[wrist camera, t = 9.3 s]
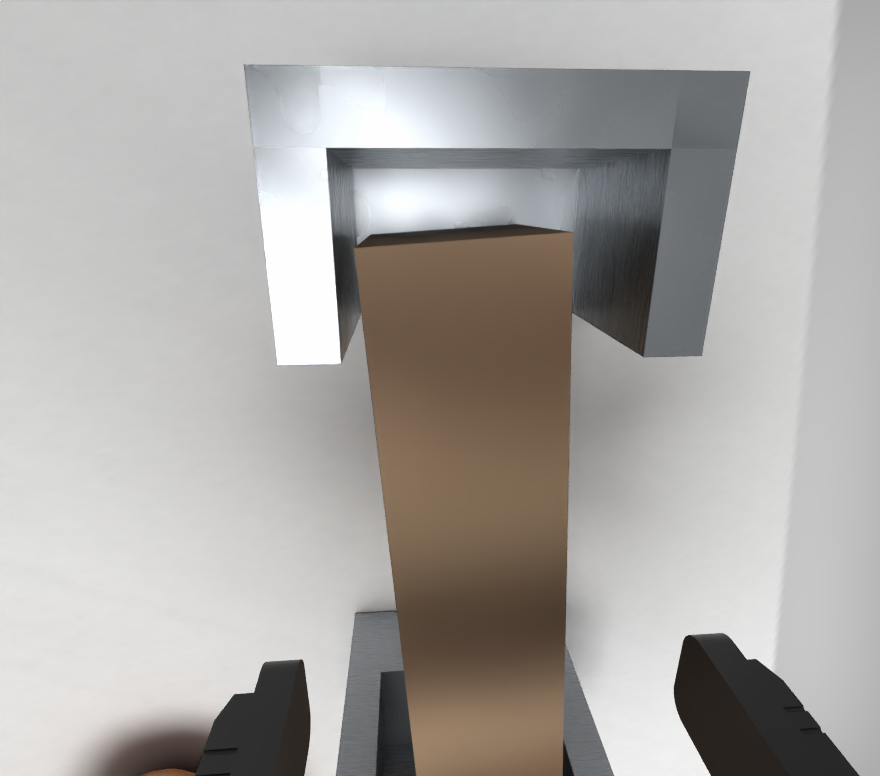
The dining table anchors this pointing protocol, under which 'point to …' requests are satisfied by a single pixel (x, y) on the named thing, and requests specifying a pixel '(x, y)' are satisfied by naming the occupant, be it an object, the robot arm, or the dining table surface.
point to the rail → (475, 484)
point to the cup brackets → (487, 204)
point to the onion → (169, 772)
